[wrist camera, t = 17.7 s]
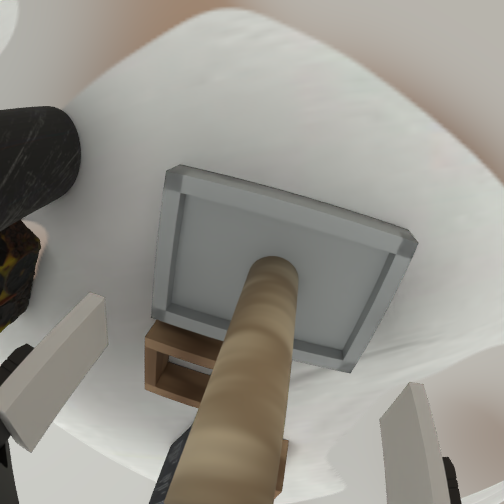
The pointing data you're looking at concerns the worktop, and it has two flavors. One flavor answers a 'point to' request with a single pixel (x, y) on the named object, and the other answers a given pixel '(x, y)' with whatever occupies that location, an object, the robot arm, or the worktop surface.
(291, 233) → the tray
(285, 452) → the wooden block
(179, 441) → the box
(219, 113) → the worktop surface
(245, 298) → the dowel
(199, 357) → the socket
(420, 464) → the robot arm
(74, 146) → the travel mug
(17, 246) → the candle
